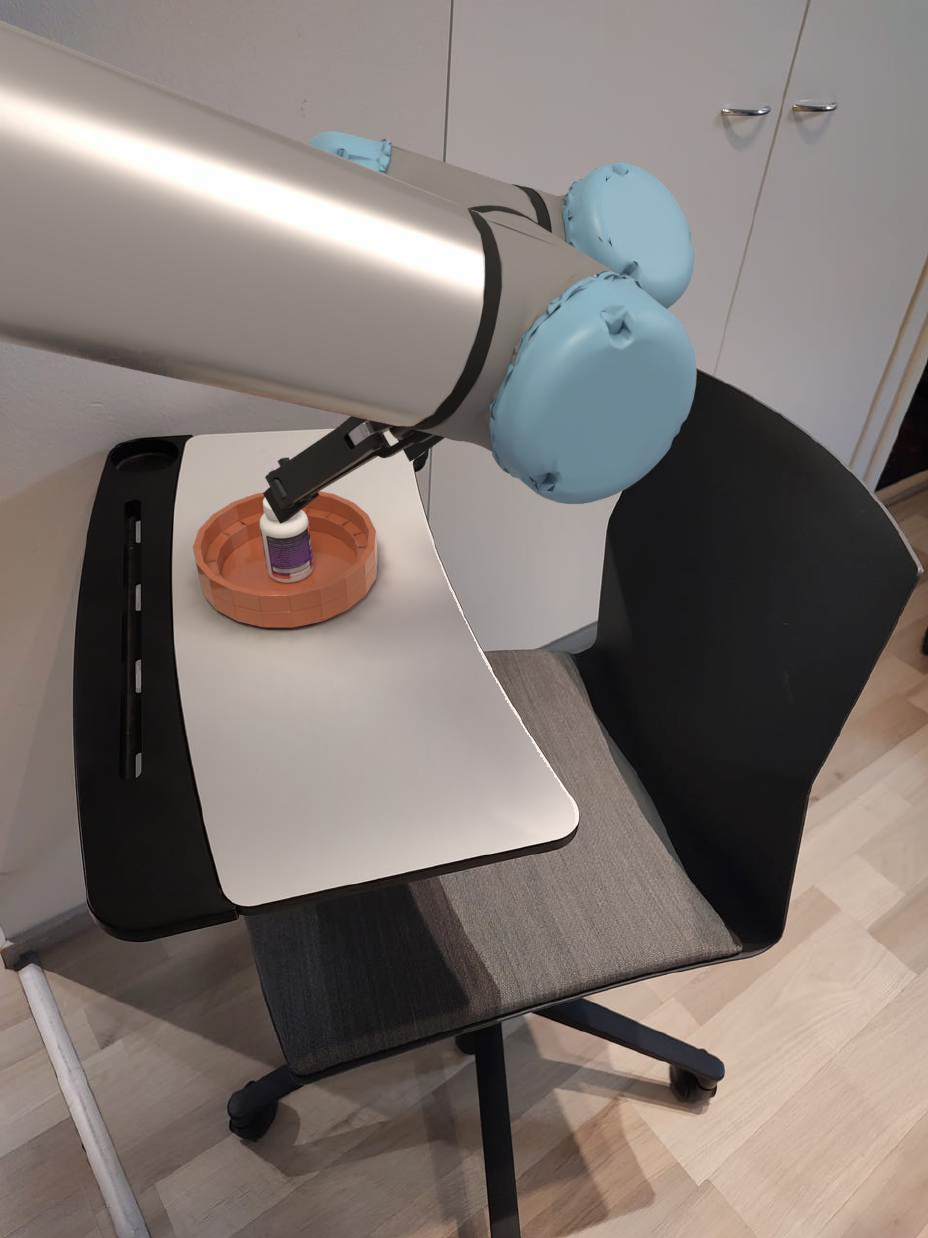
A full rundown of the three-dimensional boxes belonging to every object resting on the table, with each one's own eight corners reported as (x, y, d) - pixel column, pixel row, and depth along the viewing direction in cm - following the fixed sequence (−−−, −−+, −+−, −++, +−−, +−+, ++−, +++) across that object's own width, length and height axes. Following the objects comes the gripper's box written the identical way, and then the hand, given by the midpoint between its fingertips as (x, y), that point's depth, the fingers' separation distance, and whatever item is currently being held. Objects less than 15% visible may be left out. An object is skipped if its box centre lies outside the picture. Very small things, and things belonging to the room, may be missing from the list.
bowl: (214, 649, 81) (206, 612, 78) (192, 541, 93) (184, 505, 90) (397, 610, 85) (396, 574, 82) (353, 512, 97) (350, 477, 94)
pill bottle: (323, 571, 89) (315, 501, 83) (284, 590, 86) (274, 520, 81) (296, 550, 91) (287, 480, 86) (257, 568, 89) (246, 498, 83)
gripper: (354, 492, 49) (238, 580, 66) (630, 359, 62) (472, 461, 80) (286, 370, 48) (187, 491, 66) (580, 261, 61) (431, 386, 79)
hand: (343, 475), depth 73 cm, fingers open, 13 cm apart
